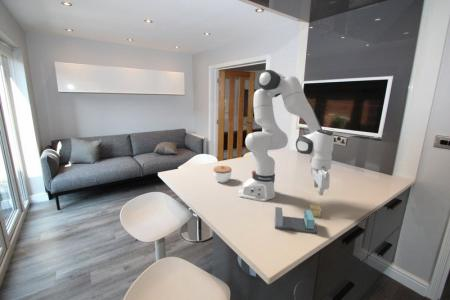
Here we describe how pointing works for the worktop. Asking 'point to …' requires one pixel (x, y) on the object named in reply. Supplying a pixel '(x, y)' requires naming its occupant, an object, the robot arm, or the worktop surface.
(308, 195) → the worktop surface
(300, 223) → the press bed
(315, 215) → the tan short block
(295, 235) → the worktop surface
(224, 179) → the lidded bowl
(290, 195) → the worktop surface
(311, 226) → the block
